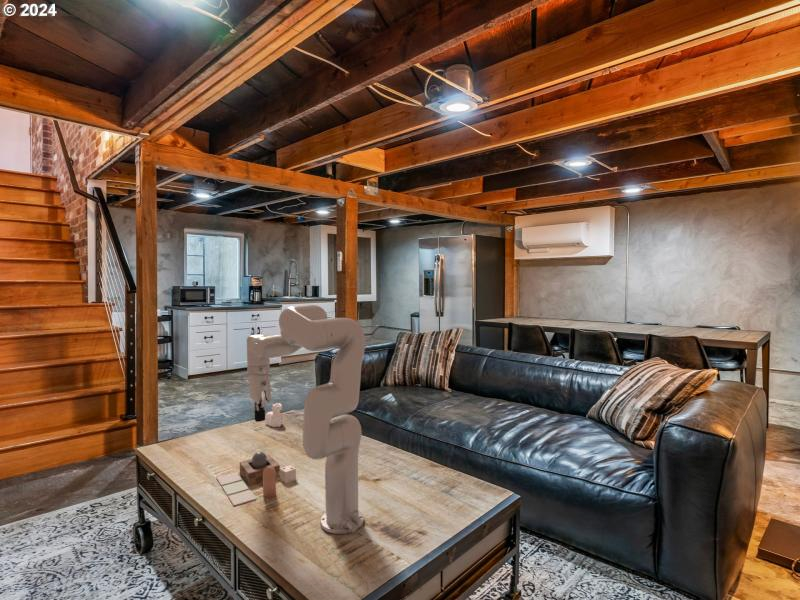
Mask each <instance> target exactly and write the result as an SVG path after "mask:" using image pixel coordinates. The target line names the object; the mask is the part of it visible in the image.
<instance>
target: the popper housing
mask: <svg viewBox="0 0 800 600" xmlns="http://www.w3.org/2000/svg"><path fill="white" fill-rule="evenodd" d="M266 457H267V466H264V467H260V468H256V469H253V468H252V458H251V459H248V460H242V461H240V462H239V475H240V476H242V477H243V479H244V480H245V482H246V483H247V484H248V485H252V484H253V485H254V484H257V483H260V482H263V471H264V469H265V468H266V467H268V466H271V467H273V468H274V469H275V472H276V478H277V477H280V468H281V467H280V466H281V465H280V464H279V463H278V462H277V461H276V460H275V459H274V458H273V457H272V456H271V455H270V454H267V455H266Z"/></svg>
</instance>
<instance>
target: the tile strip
mask: <svg viewBox="0 0 800 600" xmlns="http://www.w3.org/2000/svg"><path fill="white" fill-rule="evenodd" d="M216 480H217V482H218V484H220V486H221V488H222V490H223V491H224V493H225V495H226V497H228V499H229V501H230V502H231V504H232V506H233V507H236V506H241V505H243V504H246V503H250V502H253V501H256V500H257V497H256V496H255V495H254V493H253V492H252V491H251V489H250V488H249V486H248V485H247V484H246V483H245V482H246V481H244V480H243V479H242V477H241V475H240V473H238V472H237V471H235V472H232V473H228V474H224V475H219V476H217V477H216Z"/></svg>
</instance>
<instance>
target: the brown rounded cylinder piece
mask: <svg viewBox="0 0 800 600" xmlns="http://www.w3.org/2000/svg"><path fill="white" fill-rule="evenodd" d="M276 479H277V477H276V472H275V469H274V468H273V467H271V466H268V467H266V468H265V469H264V471H263V481H262V492H263V495H262V496H263V497H264V498H265V499H271V498H273V497H276V495H277V486H276V485H277V484H276V483H277V481H276Z"/></svg>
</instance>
